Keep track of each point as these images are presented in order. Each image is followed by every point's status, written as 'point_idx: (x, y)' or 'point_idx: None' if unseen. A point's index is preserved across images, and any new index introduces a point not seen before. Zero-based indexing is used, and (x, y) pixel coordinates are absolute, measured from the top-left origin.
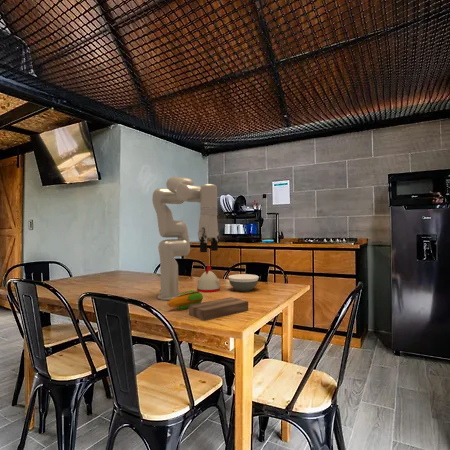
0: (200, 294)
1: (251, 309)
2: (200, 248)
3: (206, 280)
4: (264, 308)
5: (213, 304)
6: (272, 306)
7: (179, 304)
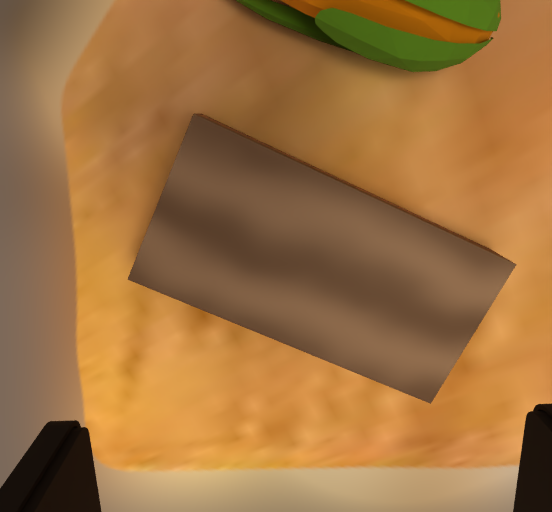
0: (443, 55)
1: None
2: (16, 480)
3: None
4: (485, 429)
5: (281, 254)
6: None
7: None
